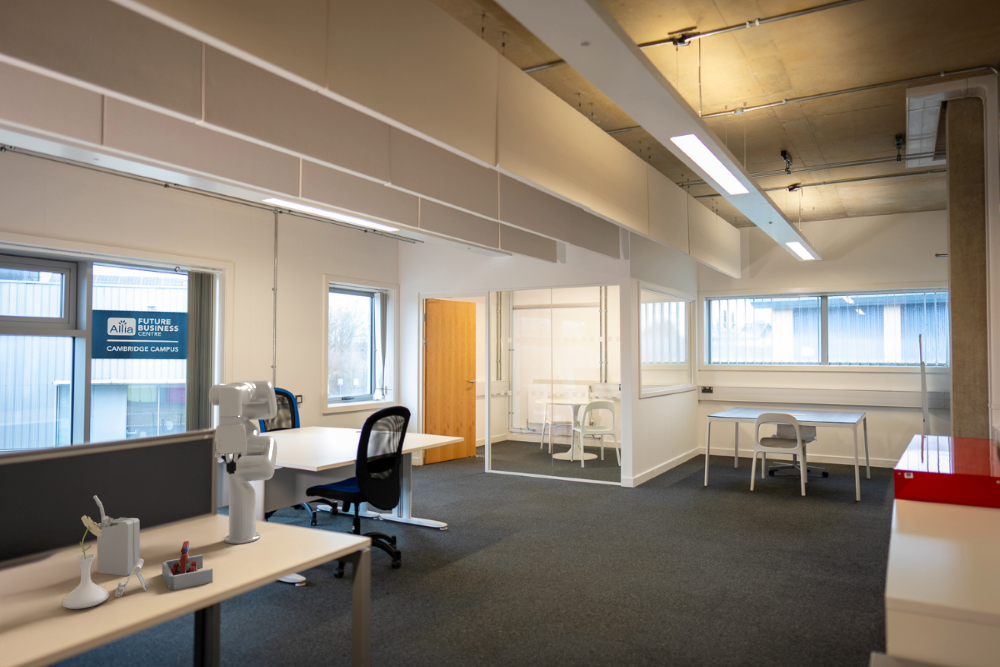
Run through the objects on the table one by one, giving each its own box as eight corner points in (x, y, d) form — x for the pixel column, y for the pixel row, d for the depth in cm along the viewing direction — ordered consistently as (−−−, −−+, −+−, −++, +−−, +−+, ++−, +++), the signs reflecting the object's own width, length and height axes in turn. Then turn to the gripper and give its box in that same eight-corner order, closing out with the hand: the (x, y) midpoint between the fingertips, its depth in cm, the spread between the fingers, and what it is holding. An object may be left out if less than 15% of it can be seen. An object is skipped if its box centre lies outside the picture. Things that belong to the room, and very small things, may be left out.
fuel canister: (90, 572, 218) (90, 496, 218) (103, 567, 222) (103, 492, 223) (127, 576, 213) (126, 498, 214) (139, 571, 218) (139, 495, 218)
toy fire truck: (169, 585, 204) (169, 552, 204) (174, 573, 216) (174, 541, 216) (194, 582, 206) (193, 549, 207) (197, 570, 218) (197, 538, 218)
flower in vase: (109, 606, 188) (109, 518, 188) (61, 616, 182) (61, 524, 182) (107, 592, 199) (107, 509, 199) (62, 601, 193) (62, 515, 193)
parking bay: (162, 573, 215) (162, 561, 215) (202, 566, 221) (202, 554, 221) (170, 590, 200) (170, 577, 200) (212, 582, 206) (212, 569, 207)
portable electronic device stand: (119, 588, 203) (119, 560, 203) (148, 584, 206) (147, 557, 206) (115, 597, 195) (115, 569, 195) (145, 593, 198) (145, 565, 198)
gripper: (250, 418, 240) (250, 469, 239) (205, 421, 231) (206, 474, 231) (255, 420, 233) (255, 472, 233) (210, 423, 225) (210, 477, 225)
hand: (231, 473), depth 232 cm, fingers closed
